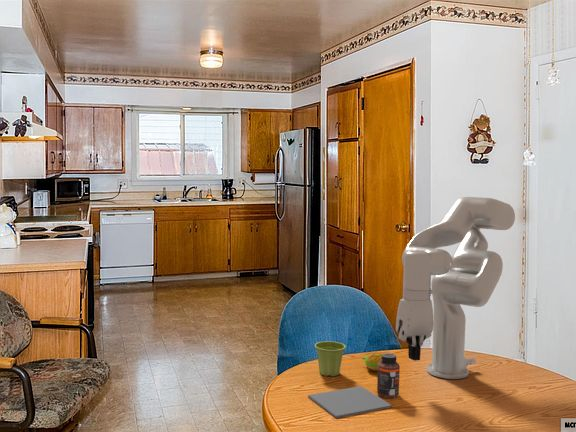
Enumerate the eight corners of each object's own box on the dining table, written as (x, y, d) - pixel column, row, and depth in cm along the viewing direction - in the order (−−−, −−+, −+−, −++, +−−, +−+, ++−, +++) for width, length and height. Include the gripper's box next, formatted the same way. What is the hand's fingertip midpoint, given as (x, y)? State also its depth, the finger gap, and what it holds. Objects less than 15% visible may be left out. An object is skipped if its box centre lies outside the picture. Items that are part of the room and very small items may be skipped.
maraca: (369, 374, 178) (369, 357, 178) (358, 364, 188) (359, 348, 187) (390, 373, 179) (391, 356, 179) (379, 363, 189) (379, 347, 189)
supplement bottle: (398, 400, 158) (399, 359, 157) (376, 398, 159) (377, 357, 159) (398, 392, 164) (400, 352, 163) (377, 390, 165) (378, 351, 164)
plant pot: (328, 366, 186) (328, 339, 185) (351, 373, 179) (351, 345, 178) (307, 372, 179) (308, 345, 178) (331, 380, 172) (331, 352, 172)
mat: (360, 388, 167) (360, 386, 167) (392, 407, 153) (392, 405, 153) (308, 397, 159) (308, 395, 159) (335, 418, 146) (335, 415, 146)
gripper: (428, 290, 170) (426, 352, 171) (386, 294, 164) (384, 358, 165) (446, 295, 163) (443, 359, 165) (402, 299, 157) (400, 366, 158)
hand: (414, 358), depth 165 cm, fingers closed
